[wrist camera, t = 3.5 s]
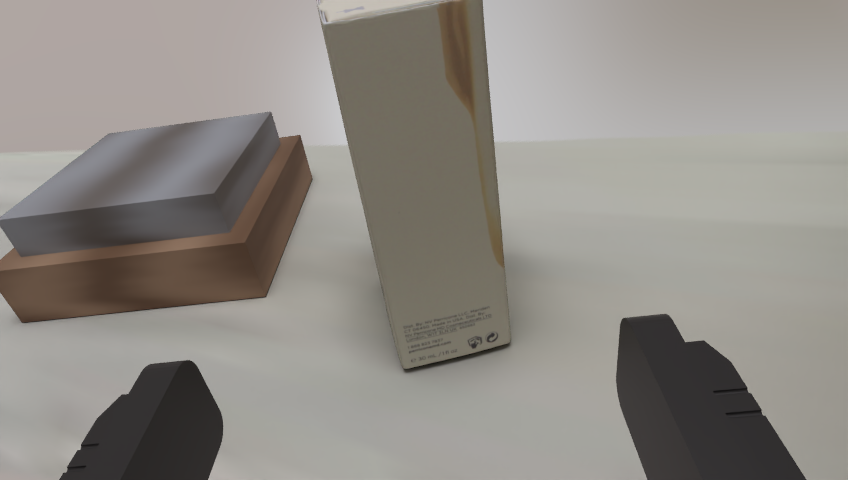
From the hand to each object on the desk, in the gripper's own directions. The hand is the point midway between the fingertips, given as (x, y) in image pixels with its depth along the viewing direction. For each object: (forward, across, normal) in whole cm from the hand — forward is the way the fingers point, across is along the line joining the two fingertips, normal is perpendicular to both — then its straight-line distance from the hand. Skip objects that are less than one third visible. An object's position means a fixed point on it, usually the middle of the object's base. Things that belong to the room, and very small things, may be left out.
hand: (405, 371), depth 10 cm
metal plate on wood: (+18, +14, +7) cm, 24 cm away
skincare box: (+10, 0, +7) cm, 12 cm away
